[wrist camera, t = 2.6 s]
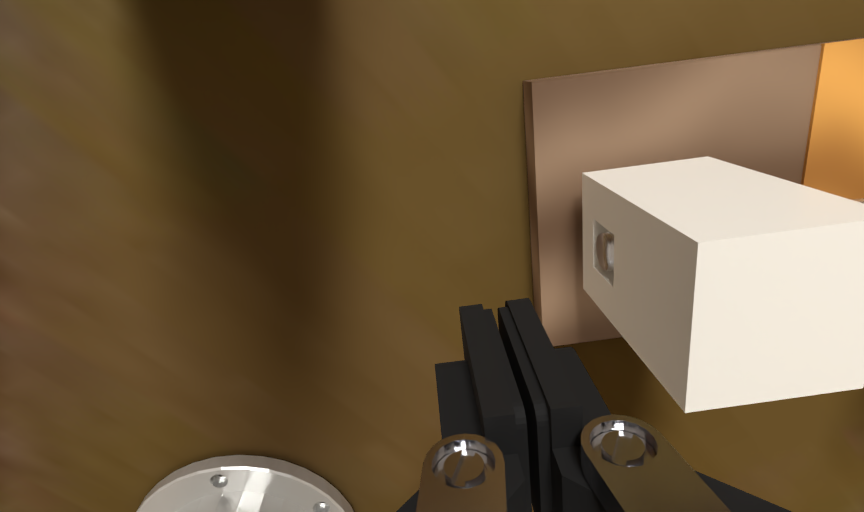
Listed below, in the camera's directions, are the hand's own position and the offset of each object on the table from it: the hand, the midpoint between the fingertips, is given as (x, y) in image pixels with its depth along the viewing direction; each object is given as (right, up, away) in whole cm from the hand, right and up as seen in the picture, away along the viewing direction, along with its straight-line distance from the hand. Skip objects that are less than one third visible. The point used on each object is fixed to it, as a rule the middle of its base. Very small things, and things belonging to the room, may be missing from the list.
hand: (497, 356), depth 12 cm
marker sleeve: (+7, +4, +9) cm, 12 cm away
